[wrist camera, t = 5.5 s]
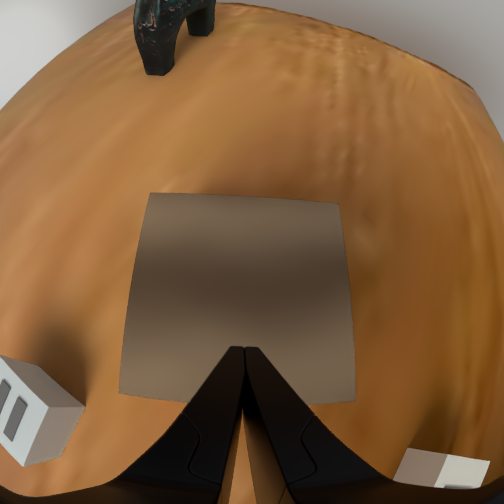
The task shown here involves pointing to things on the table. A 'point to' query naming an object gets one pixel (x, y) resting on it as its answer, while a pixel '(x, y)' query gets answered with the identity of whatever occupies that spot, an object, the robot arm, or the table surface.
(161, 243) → the plain walnut block
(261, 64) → the table surface
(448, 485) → the offwhite numeral block
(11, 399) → the grey numeral block
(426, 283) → the table surface
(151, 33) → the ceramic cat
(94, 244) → the table surface
